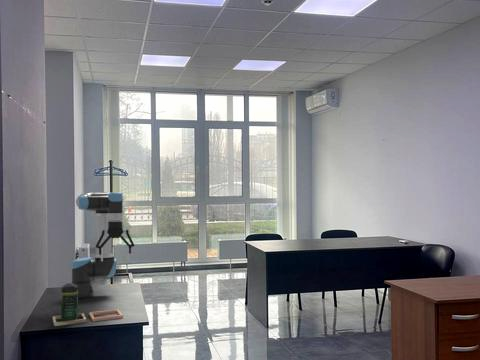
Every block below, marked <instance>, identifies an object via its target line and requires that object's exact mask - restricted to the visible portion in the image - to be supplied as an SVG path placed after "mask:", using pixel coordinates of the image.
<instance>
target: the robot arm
mask: <svg viewBox="0 0 480 360" xmlns="http://www.w3.org/2000/svg"><path fill="white" fill-rule="evenodd" d="M123 201H124V198H123V192H109V191H107V192H106V191H105V192H100V191H99V192H98V191H97V192H86V193H81V194H79V195H78V196H77V197H76V199H75V204H76V206H77V208H78V209H79V210H83V211H90V212H92V211H93V212H95V215H96V216H97V242H96V244H95V248H96V249H97V254H96V255H95V256H94V259H93V258H92V257H89V256H88V257H81V258H76V259H75V260H73V261H72V263H71V283H74V284H76V285H77V286H78V299H86V298H87V299H88V298H91V297H94V296H95V290H94V287H93V284H92V279H100V278H112V277H114V276H115V274H116V271H117V258H115V255H114V254H113V252H112V251H113V250H112V249H113V248H112V245H113V244H112V242H113V241H112V240H113V239H119V238H120V239H121V240H122V241H123V242H124V243H125V244H126V246H127V247H126V260H127V261H130V255H131V254H132V247H135V243H134V241H133V239H132V237H131V236H130V234H129V233H130V231H129V229H123V214H124V212H123ZM123 233H124V234H125V235H126V237H127V238H128V241H129V242H130V243H129V242H128V241H127V240H126V238H125V237H124V236H123Z"/></svg>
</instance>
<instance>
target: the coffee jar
mask: <svg viewBox="0 0 480 360" xmlns="http://www.w3.org/2000/svg"><path fill="white" fill-rule="evenodd" d="M60 300H61V301H60V302H61V303H60V305H61V306H60V315H61V319H60V322H62V321H71V320H78V317H77V314H78V307H79V306H78V304H79V298H78V286H77V285H76V284H74V283H72V282H71V283H65V284H63V285H62V287H61V296H60Z"/></svg>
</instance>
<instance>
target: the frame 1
mask: <svg viewBox="0 0 480 360" xmlns="http://www.w3.org/2000/svg"><path fill="white" fill-rule="evenodd" d="M79 317H80V318H81V319H77V320H71V321H62V322H61V321H57V320H61V314H60V315H54V316H53V315H52V322H53V326H54V327H59V326H66V325H73V324H74V325H75V324H83V323H84V324H85V323H87V317H86V316H85V313H84V312H80V313H77V318H79Z"/></svg>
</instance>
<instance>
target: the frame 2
mask: <svg viewBox="0 0 480 360" xmlns="http://www.w3.org/2000/svg"><path fill="white" fill-rule="evenodd" d="M88 313H89V314H88V316H89V317H90V319H91V321H92V322H99V321H100V322H101V321H109V320H117V319H123V318H124V314H123V313H122V312H121V311H120V310H119V309H118V308H117V309H116V308H115V309H109V310H108V309H107V310H101V311H90V312H88ZM115 313H116V315H115ZM108 314H114V315H108ZM98 315H107V316H99V317H95V316H98Z"/></svg>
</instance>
